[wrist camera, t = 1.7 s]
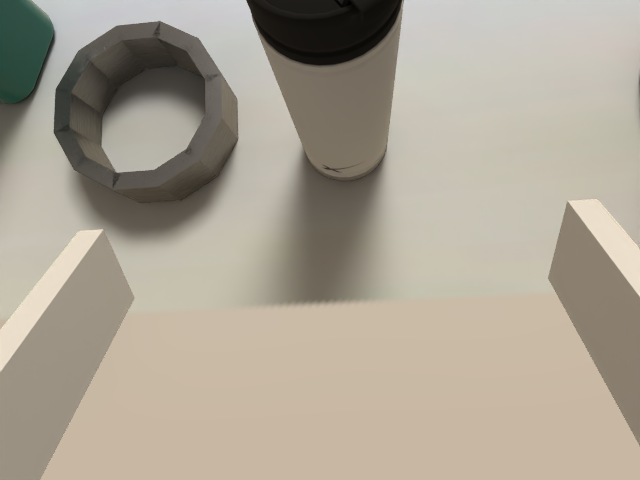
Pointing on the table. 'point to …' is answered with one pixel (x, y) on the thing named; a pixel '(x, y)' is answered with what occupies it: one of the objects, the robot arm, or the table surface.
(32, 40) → the green bottle
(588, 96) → the table surface
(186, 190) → the ring collar
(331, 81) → the travel mug
